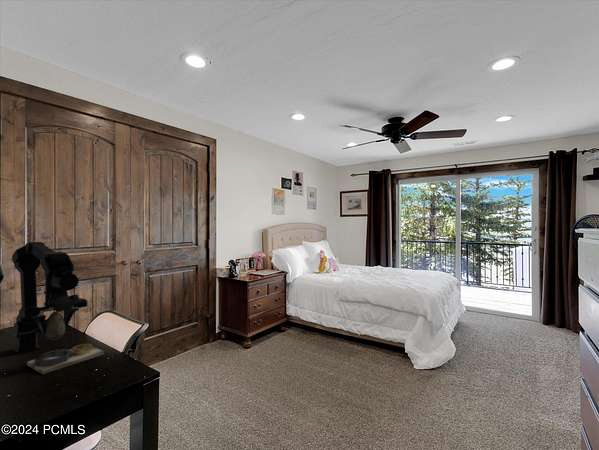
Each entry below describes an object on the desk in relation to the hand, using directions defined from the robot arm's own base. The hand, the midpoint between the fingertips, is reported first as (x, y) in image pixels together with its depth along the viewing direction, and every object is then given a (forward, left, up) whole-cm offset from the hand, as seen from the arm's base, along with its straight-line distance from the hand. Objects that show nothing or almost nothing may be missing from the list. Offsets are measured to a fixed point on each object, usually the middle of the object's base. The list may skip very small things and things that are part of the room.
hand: (54, 331), depth 109 cm
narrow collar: (0, +9, -11) cm, 14 cm away
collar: (0, 0, -11) cm, 11 cm away
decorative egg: (0, 0, -3) cm, 3 cm away
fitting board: (0, +4, -11) cm, 12 cm away
